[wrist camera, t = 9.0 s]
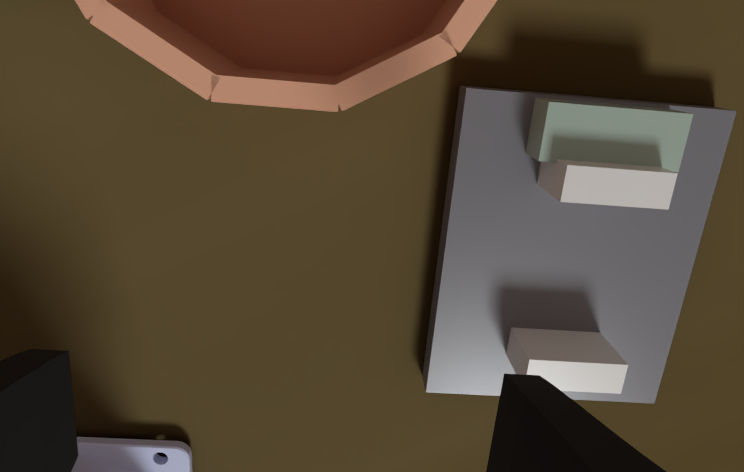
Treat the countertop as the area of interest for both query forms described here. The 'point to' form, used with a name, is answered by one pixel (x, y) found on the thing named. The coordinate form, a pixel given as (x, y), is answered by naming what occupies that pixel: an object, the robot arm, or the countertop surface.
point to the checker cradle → (568, 240)
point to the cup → (290, 44)
